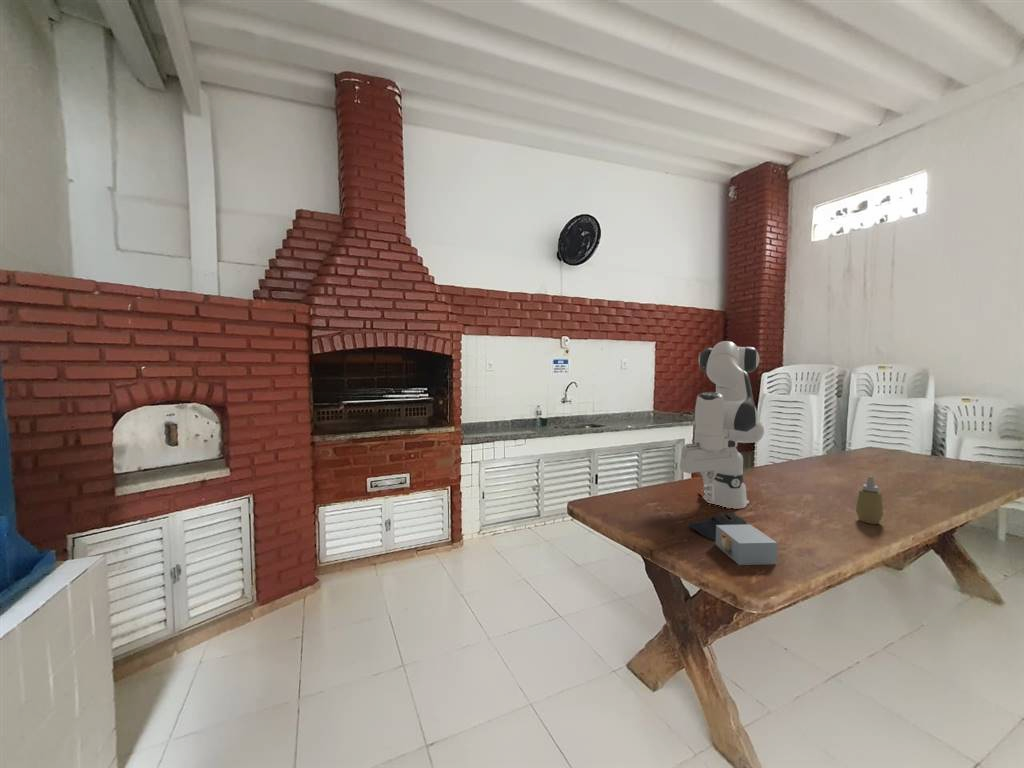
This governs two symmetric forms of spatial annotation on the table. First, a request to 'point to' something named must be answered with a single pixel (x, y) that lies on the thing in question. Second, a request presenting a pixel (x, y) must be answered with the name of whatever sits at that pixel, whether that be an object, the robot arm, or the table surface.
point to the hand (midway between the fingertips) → (708, 483)
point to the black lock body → (709, 526)
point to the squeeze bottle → (869, 503)
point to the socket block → (747, 544)
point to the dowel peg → (726, 544)
